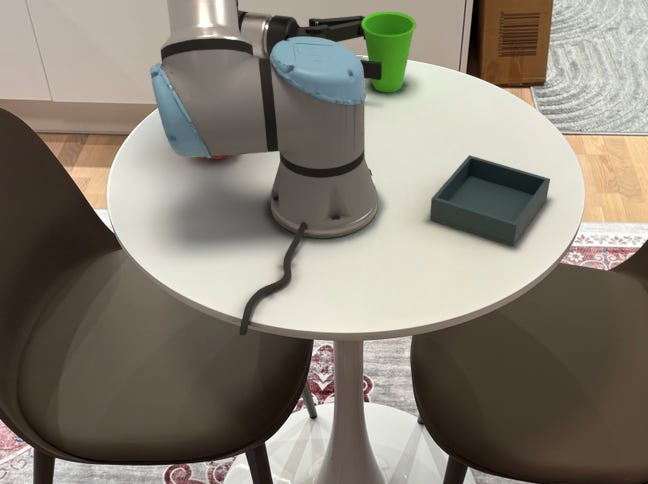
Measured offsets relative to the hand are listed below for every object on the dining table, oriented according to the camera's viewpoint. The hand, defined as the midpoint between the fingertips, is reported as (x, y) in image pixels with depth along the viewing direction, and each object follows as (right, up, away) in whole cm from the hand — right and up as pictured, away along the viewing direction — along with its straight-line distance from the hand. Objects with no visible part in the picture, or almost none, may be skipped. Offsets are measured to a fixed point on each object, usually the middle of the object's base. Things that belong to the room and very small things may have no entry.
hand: (391, 52), depth 142 cm
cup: (-1, -4, +4) cm, 6 cm away
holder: (+14, -30, -21) cm, 39 cm away
